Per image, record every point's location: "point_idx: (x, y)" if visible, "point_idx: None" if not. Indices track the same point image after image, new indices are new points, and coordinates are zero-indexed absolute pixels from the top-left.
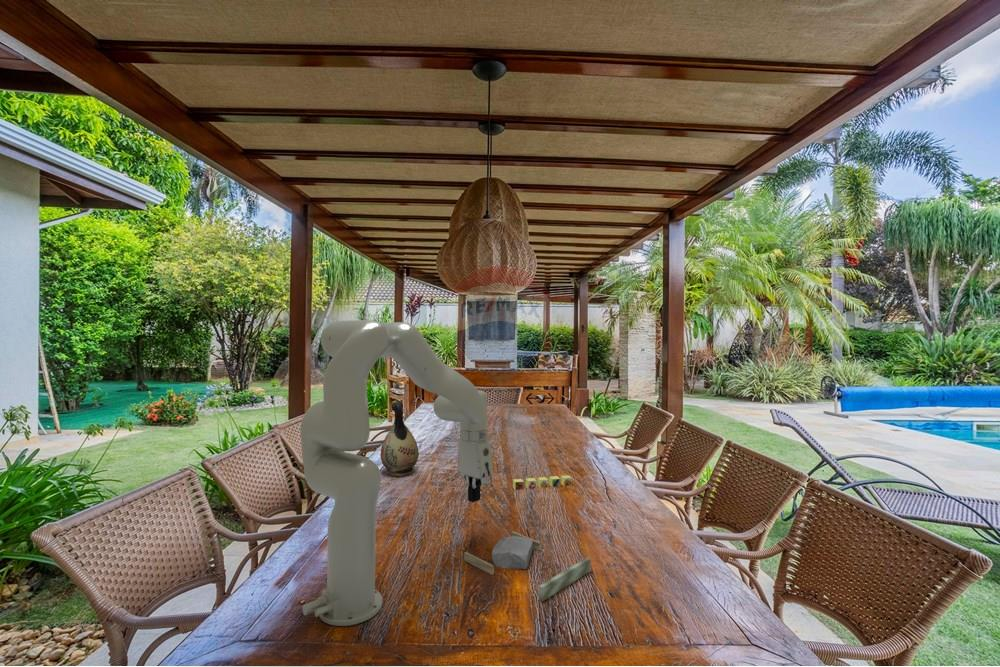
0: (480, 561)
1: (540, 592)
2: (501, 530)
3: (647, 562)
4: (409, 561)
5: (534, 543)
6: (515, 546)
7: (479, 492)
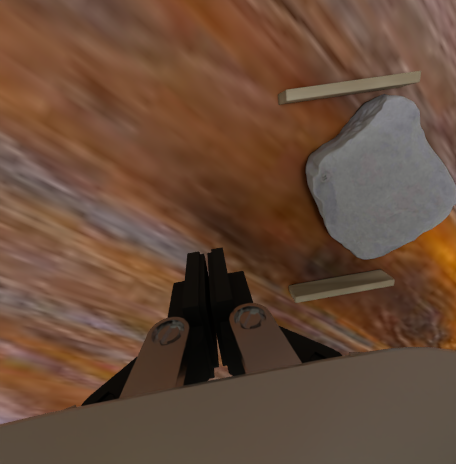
0: (353, 291)
1: None
2: (197, 84)
3: None
4: (216, 375)
5: (392, 86)
6: (409, 199)
7: (248, 291)
